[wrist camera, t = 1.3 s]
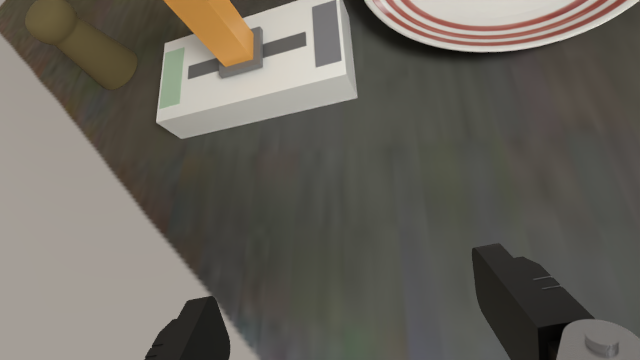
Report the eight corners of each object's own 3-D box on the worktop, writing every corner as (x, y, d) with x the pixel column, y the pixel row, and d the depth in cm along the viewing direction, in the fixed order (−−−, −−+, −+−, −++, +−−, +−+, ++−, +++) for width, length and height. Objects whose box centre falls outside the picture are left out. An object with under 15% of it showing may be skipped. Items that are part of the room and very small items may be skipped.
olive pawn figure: (112, 48, 52) (32, -14, 43) (144, 51, 50) (67, -15, 40) (93, 87, 51) (5, 31, 41) (125, 92, 49) (40, 34, 39)
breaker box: (348, 16, 41) (337, -14, 37) (357, 97, 37) (346, 73, 33) (187, 64, 46) (164, 42, 43) (181, 139, 43) (155, 121, 39)
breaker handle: (262, 30, 38) (202, -59, 29) (262, 67, 36) (198, -16, 28) (223, 42, 39) (154, -40, 30) (222, 78, 38) (148, 3, 29)
